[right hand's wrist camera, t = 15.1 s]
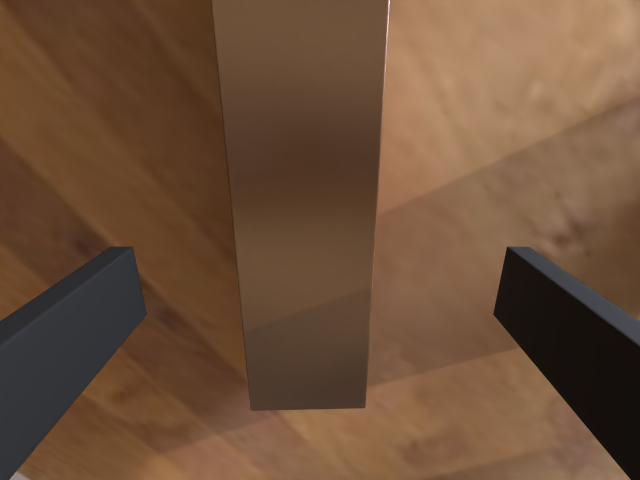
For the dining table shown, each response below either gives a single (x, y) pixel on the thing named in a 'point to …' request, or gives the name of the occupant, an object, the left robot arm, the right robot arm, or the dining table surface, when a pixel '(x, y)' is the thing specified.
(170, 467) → the dining table surface
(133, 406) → the dining table surface
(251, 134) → the bar
